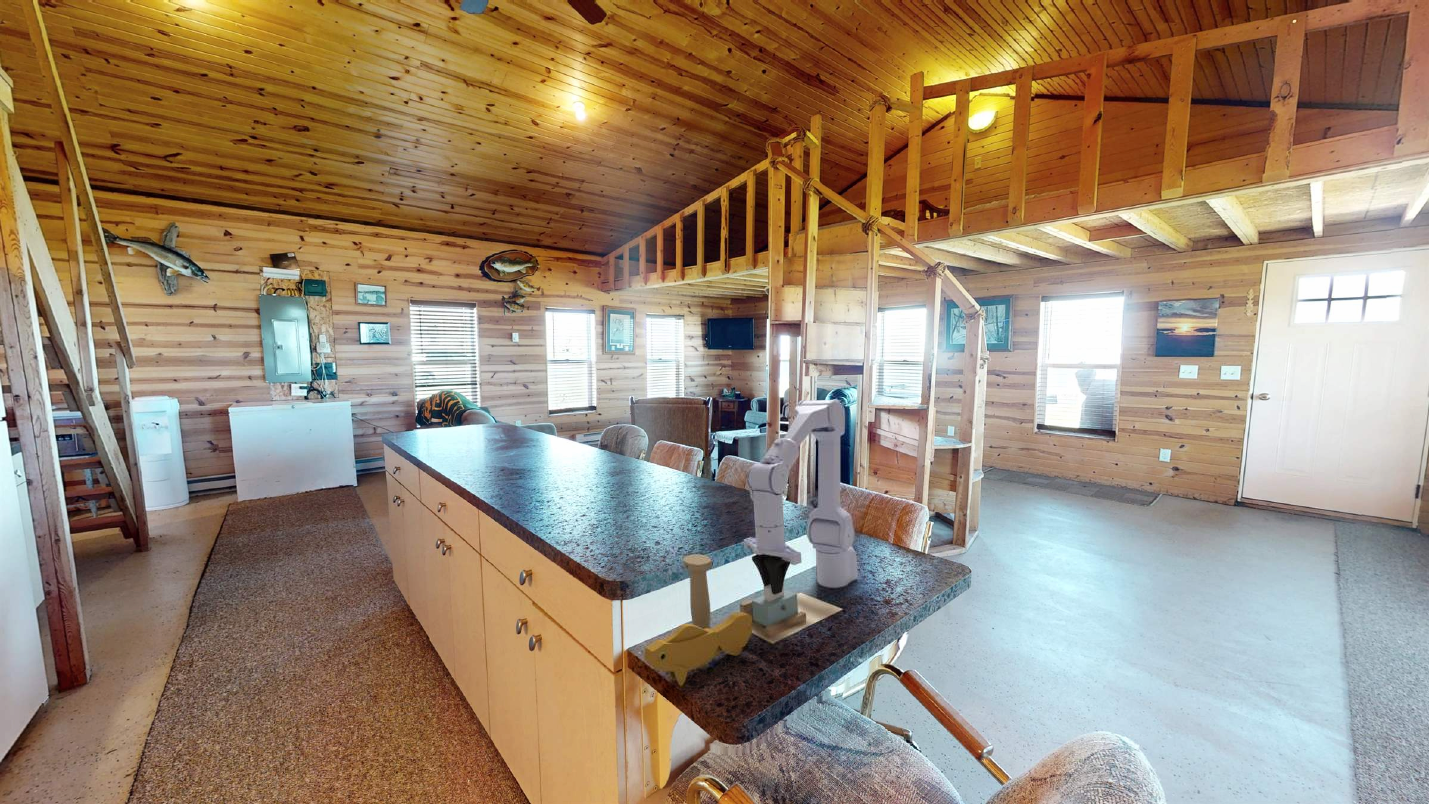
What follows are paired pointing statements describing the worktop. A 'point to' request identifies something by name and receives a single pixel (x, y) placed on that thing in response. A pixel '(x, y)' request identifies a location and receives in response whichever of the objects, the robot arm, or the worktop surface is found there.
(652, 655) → the decorative fish
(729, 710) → the worktop surface
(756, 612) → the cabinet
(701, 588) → the handle
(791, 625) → the cleat board
